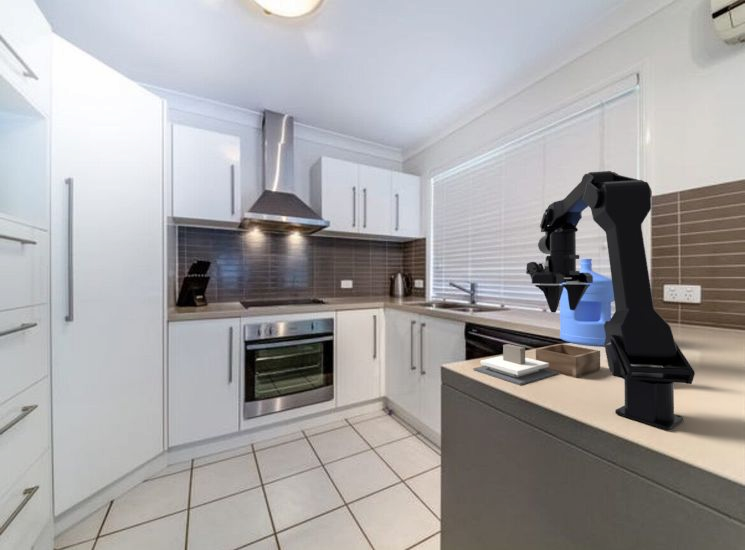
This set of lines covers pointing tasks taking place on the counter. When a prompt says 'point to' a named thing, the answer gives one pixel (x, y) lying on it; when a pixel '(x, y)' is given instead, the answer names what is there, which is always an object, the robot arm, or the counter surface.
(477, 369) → the mat
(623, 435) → the counter surface
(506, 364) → the lid
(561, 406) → the counter surface
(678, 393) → the counter surface
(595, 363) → the box
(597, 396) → the counter surface
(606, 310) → the water jug
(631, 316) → the robot arm
